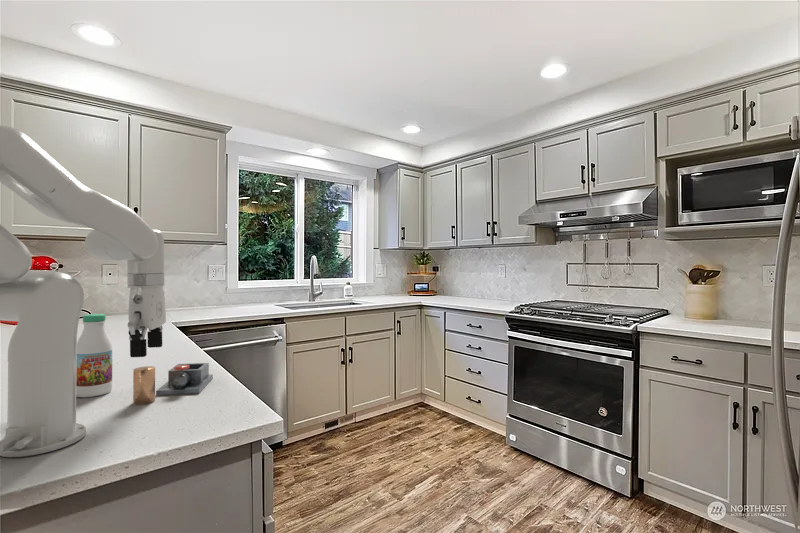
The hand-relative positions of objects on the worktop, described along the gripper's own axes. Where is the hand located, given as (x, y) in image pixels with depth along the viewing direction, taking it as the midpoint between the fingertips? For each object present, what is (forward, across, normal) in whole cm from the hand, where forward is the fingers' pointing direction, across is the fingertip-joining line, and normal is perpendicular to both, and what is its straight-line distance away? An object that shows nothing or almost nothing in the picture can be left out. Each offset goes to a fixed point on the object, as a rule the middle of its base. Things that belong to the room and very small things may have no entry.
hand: (147, 351), depth 98 cm
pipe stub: (+12, -1, 0) cm, 12 cm away
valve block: (+12, +10, -6) cm, 17 cm away
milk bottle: (+12, +8, +15) cm, 21 cm away
